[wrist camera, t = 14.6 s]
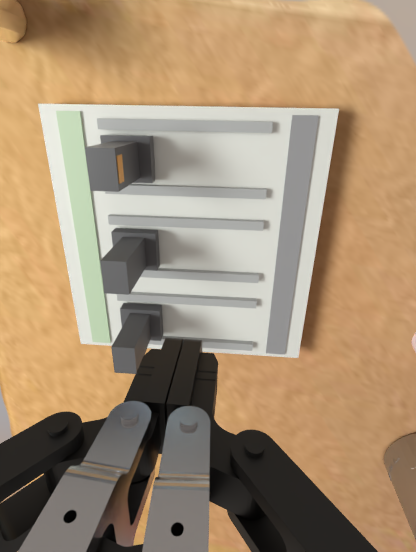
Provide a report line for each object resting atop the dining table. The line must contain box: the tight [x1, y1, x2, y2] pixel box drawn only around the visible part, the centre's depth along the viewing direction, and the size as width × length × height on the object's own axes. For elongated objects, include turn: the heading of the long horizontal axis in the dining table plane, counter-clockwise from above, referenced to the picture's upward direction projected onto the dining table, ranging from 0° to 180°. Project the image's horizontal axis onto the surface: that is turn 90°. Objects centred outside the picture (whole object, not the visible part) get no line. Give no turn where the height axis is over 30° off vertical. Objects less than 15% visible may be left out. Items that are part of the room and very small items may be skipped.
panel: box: [38, 104, 339, 374], centre depth 30 cm, size 24×24×9 cm
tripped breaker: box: [85, 135, 155, 192], centre depth 26 cm, size 4×4×7 cm
